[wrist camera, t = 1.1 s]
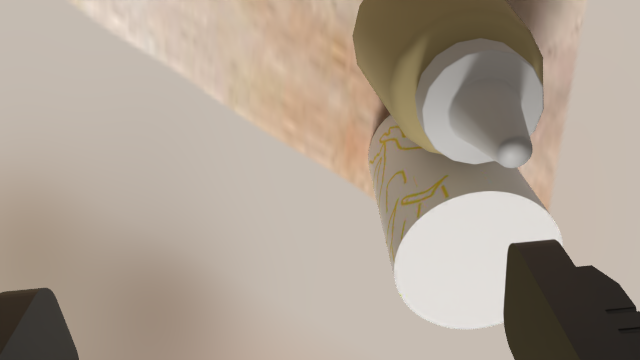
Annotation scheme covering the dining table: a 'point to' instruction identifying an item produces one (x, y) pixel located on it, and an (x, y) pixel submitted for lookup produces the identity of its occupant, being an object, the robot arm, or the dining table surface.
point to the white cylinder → (451, 228)
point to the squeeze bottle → (454, 75)
